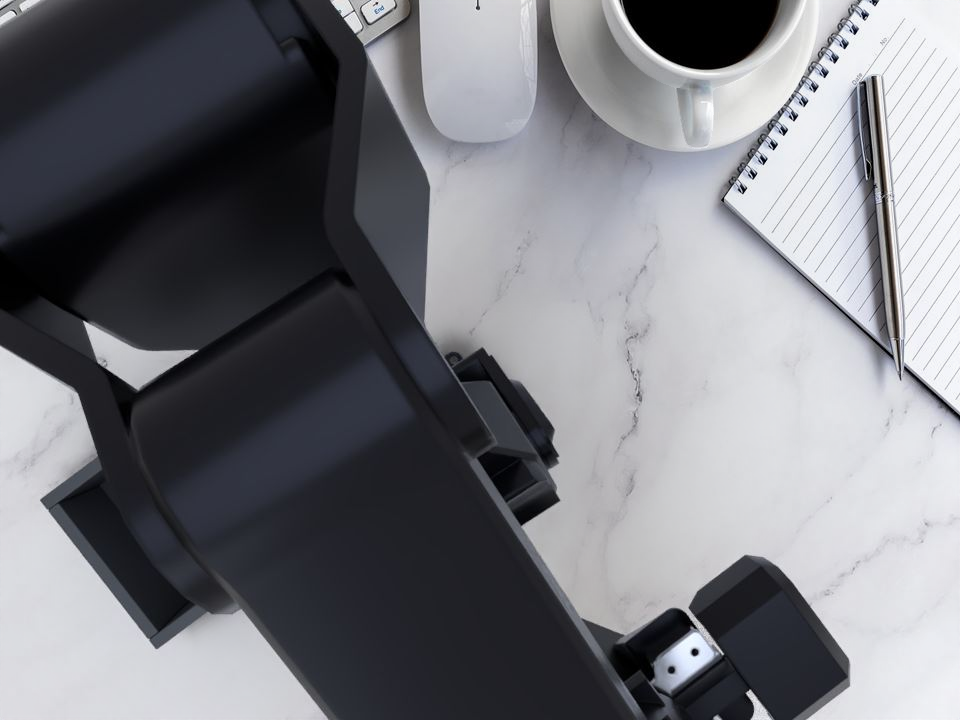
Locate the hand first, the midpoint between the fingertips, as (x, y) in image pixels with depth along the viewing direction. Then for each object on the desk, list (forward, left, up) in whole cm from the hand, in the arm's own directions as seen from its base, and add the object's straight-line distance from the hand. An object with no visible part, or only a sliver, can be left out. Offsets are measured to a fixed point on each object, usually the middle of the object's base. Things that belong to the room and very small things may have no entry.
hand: (592, 671), depth 43 cm
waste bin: (+13, -19, -9) cm, 25 cm away
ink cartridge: (-1, 0, -2) cm, 3 cm away
